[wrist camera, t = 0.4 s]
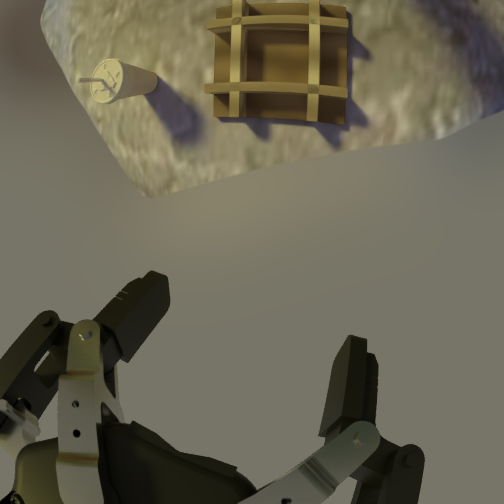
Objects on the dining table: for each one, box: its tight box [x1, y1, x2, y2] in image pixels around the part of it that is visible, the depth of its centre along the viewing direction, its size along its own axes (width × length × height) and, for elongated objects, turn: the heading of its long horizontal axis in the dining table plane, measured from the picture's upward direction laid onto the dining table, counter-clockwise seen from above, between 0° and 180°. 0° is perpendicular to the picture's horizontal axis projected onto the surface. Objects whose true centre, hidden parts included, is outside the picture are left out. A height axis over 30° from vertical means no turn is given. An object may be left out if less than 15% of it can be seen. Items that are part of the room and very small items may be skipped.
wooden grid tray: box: [204, 0, 348, 125], centre depth 26 cm, size 17×17×4 cm
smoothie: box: [77, 59, 158, 104], centre depth 27 cm, size 6×6×14 cm
